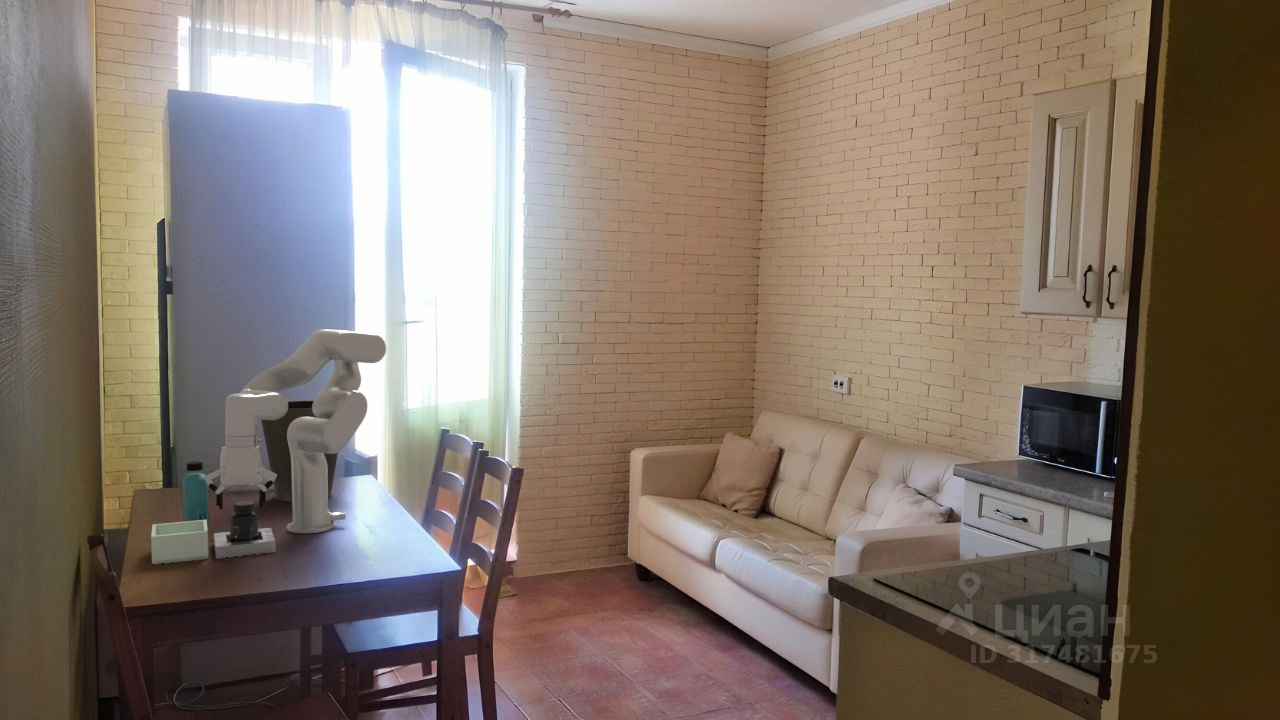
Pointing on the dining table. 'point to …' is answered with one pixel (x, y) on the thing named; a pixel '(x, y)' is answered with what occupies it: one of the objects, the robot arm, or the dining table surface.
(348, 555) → the dining table surface
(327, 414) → the robot arm
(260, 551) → the socket block
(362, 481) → the dining table surface
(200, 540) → the bin
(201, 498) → the beverage bottle
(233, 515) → the supplement bottle
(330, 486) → the waste basket
